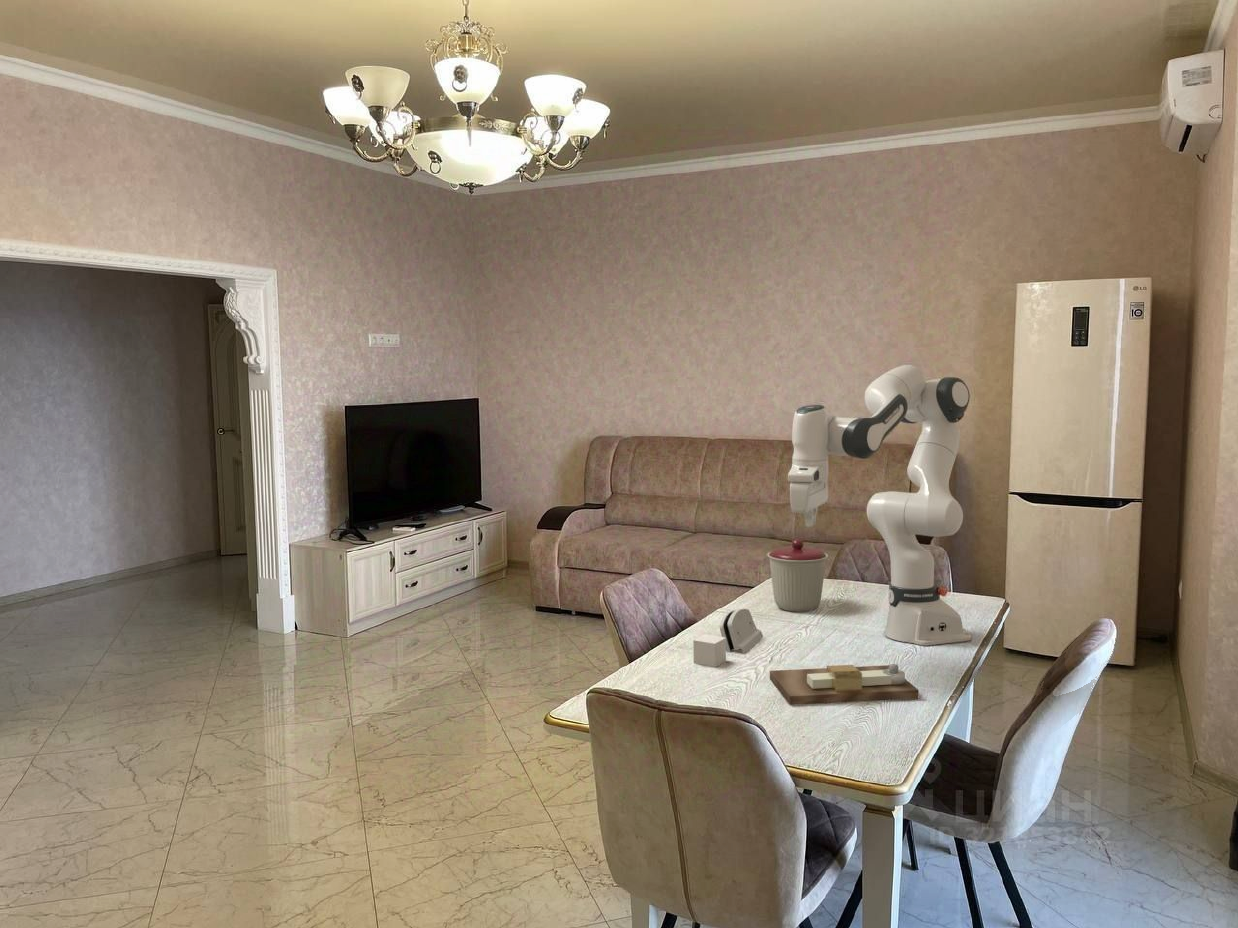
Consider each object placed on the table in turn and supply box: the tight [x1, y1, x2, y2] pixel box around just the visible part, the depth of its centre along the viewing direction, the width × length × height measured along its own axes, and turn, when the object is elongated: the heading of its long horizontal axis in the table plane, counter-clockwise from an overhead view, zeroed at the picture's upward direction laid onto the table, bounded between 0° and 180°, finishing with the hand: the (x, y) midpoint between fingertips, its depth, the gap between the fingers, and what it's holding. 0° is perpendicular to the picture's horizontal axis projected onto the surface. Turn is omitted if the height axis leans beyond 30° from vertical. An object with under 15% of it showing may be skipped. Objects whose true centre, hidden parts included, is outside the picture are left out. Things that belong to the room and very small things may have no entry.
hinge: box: [719, 608, 764, 655], centre depth 245 cm, size 17×5×10 cm, turn 154°
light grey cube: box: [692, 633, 727, 668], centre depth 230 cm, size 6×6×6 cm
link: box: [807, 663, 906, 689], centre depth 207 cm, size 22×5×4 cm, turn 96°
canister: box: [766, 538, 829, 613], centre depth 279 cm, size 18×18×21 cm
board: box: [769, 664, 920, 706], centre depth 210 cm, size 29×17×2 cm, turn 95°
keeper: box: [826, 664, 862, 692], centre depth 205 cm, size 6×6×4 cm
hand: (810, 525), depth 231 cm, fingers closed
